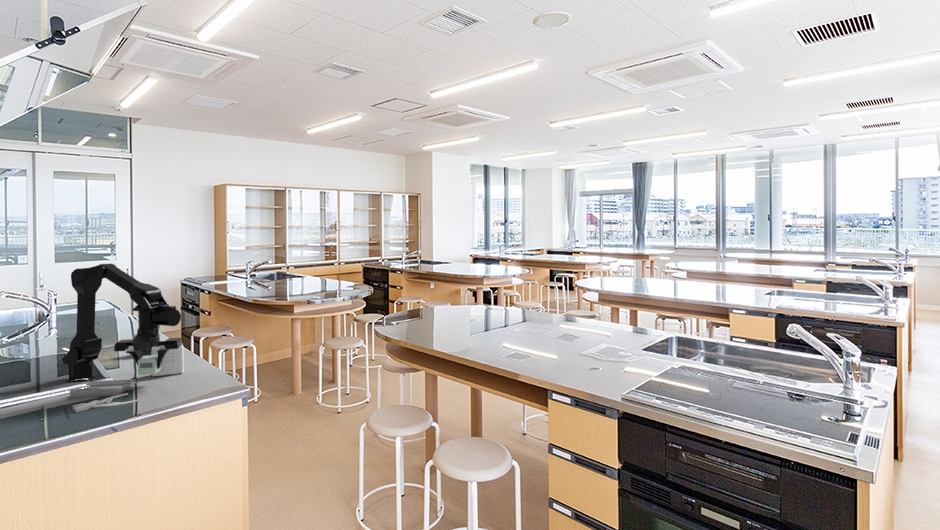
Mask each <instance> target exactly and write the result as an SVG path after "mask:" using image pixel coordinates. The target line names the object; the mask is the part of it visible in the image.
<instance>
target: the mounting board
mask: <svg viewBox="0 0 940 530" xmlns="http://www.w3.org/2000/svg"><path fill="white" fill-rule="evenodd" d="M83 384H86V385H91V386H90V387H87V388H84V389H80V388H77V389H70V390H69V395H68V396H67V399H68V398H69V399H79V398H80V399H83V397H85V398H99V397H112V396H116V395H120V394H124V392H125V391H126V390H127V389H129V388H130V387H131V386H132V385H133V384H135V381H133V378H121V379H120V378H119V379H100V380H87V381H82V385H83Z"/></svg>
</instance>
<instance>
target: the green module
mask: <svg viewBox="0 0 940 530" xmlns="http://www.w3.org/2000/svg"><path fill="white" fill-rule="evenodd" d="M157 360H158V355H152V356H151V355H146V356H142V358H141V359H139V360H138V366H137V376H145V375H151V374H156V373H157V372H158V371H159V370H160V369H161V366H160V368H159V369H157Z"/></svg>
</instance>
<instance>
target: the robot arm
mask: <svg viewBox="0 0 940 530" xmlns="http://www.w3.org/2000/svg"><path fill="white" fill-rule="evenodd" d="M103 279H106V280H108V281H110V282H111V283H113V284H114V285H116V286H117V287H118V288H120V289H122V290H123V291H125V292H127V294H129V298H130V299H131V300H132V301H133V302H134V303H135V304H136V306H134V307H133V308H132V311H133V312H137V313H138V314H137V318H138V328H137V331H136V334H137V335H136V337H135V338H134V339H132V338H131V339H130V338H129V339H121V340H118V341H117V342H116V343H114V345H113V351H114V352H125V353H126V354H129V355H130V356H132V358H133V359H134V361H135V363H136V365H137V367H138V360H139V359H141V358H142V357H143V356H142V350H145V351H147V350H150V349H151V347H159V348H160V349H159V350H158V351H157V353H158V360H157V369H159V368H160V366H161V363H162V361H163V358H164V356H165V354H166V352H167V351H168V350H170V349H178V348H179V347H180V346H182V345H183V340H182V338H181V337H169V338H167V339H166V340H161V336H160V337H159V334H160V326H167V327H168V326H169V327H176V326H177V325H179V323H180V322H181V319H182V314H181V312H180V311H179V310H178V309H177V306H176V305H170V304H169V303H168V301H167V299H166V298H165V296H164V295H163V293H162V290H161V288H159V287H157V286H154V285H152V284H149V283H144V282H141V281H139V280H138V279H136V278H135V277H133V276H131V275H130V274H128V273H127V272H125V271H123V270H122V269H120V268H119V267H117V266H116V264H115V263H100V264H97V265H95V266H90V267H82V268H81V267H80V268H76V269H74V270H73V271H72V272H71V273H70V281H71V282H70V283H71V286H72V288H73V289H74V291H75V292H76V294H77V295H76V296H77V301H76V304H77V305H76V334H75V335H74V337H73V338H72V340H71V341H70V345H69V350H68V351H67V352H66V353H65V355H63V356H62V363H63V365H66V366H68V370H67V371H68V379H66V382H67V381H69V382H72V381H71V380H75V379H82V378H90V377H92V378H94V377H96V376H95V375H97V374H96V364H95V363H94V360H98V358H99V355H100V353H101V351H102V350H101V349H103V345H102V343H103V338H102V337H99V336H98V335H97V334H96V332H95V330H96V300H97V299H96V297H97V296H96V294H97V293H98V290H99V289H100V288H101V286H102V283H103ZM159 340H160V341H159ZM93 376H94V377H93Z"/></svg>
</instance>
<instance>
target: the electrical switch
mask: <svg viewBox="0 0 940 530" xmlns="http://www.w3.org/2000/svg"><path fill="white" fill-rule="evenodd" d="M136 335H137V333H135V334H134V335H133V340H134V338H135V337H136ZM159 337H160V338H161V334H160V333H159ZM159 341H161V339H160V340H159ZM151 349H152V347H151ZM151 349H150V350H147V351H145V350H142V357H143V356H151Z"/></svg>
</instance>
